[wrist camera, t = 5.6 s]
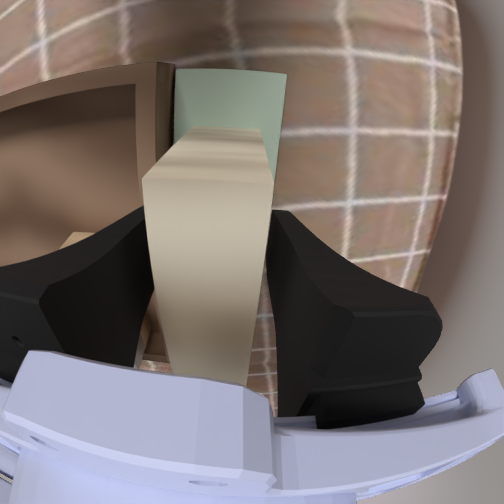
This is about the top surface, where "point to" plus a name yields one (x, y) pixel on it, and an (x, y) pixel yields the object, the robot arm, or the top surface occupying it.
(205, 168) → the cream chamfered post
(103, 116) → the crate
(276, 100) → the mat
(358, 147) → the top surface
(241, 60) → the top surface
